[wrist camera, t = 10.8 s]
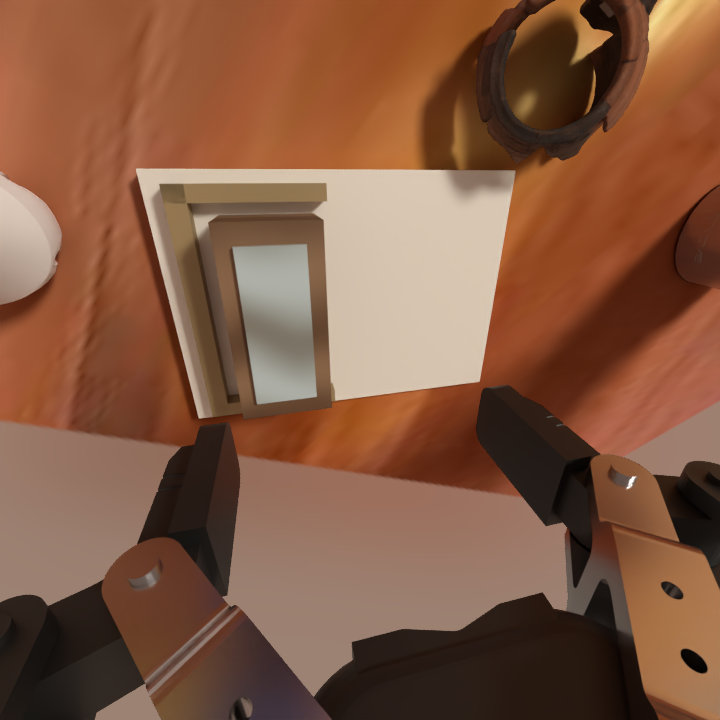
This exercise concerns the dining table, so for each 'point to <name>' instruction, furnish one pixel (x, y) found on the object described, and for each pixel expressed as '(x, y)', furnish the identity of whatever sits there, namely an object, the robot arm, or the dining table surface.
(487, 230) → the wall board
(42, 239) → the water bottle
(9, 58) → the dining table surface
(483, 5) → the dining table surface
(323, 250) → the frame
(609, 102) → the pottery mug
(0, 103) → the dining table surface
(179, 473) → the robot arm
